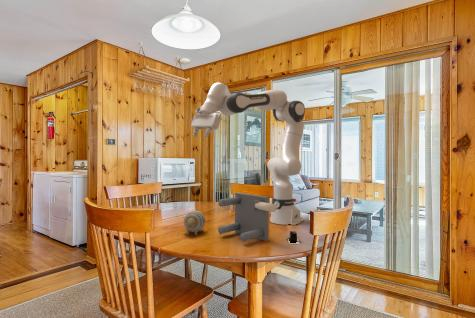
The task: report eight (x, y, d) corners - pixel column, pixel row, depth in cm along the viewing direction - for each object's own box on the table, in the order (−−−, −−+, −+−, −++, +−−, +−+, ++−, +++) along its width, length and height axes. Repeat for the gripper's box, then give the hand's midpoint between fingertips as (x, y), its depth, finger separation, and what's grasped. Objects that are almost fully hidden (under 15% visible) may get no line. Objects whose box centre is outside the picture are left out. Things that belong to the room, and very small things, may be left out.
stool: (238, 230, 141) (238, 192, 141) (268, 239, 127) (269, 197, 127) (216, 236, 131) (217, 195, 131) (247, 246, 117) (247, 200, 116)
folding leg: (252, 209, 125) (252, 200, 124) (257, 208, 127) (257, 199, 127) (271, 213, 117) (271, 203, 117) (276, 212, 119) (276, 202, 119)
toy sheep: (179, 237, 129) (179, 213, 129) (189, 227, 145) (189, 207, 145) (201, 238, 128) (201, 214, 128) (208, 228, 145) (208, 207, 144)
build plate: (284, 237, 132) (284, 228, 132) (299, 238, 132) (299, 229, 132) (287, 246, 120) (287, 235, 120) (303, 246, 119) (303, 236, 119)
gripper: (226, 114, 132) (216, 140, 130) (203, 115, 148) (194, 138, 145) (217, 107, 128) (206, 134, 126) (194, 109, 144) (184, 133, 141)
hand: (199, 136), depth 135 cm, fingers open, 8 cm apart
